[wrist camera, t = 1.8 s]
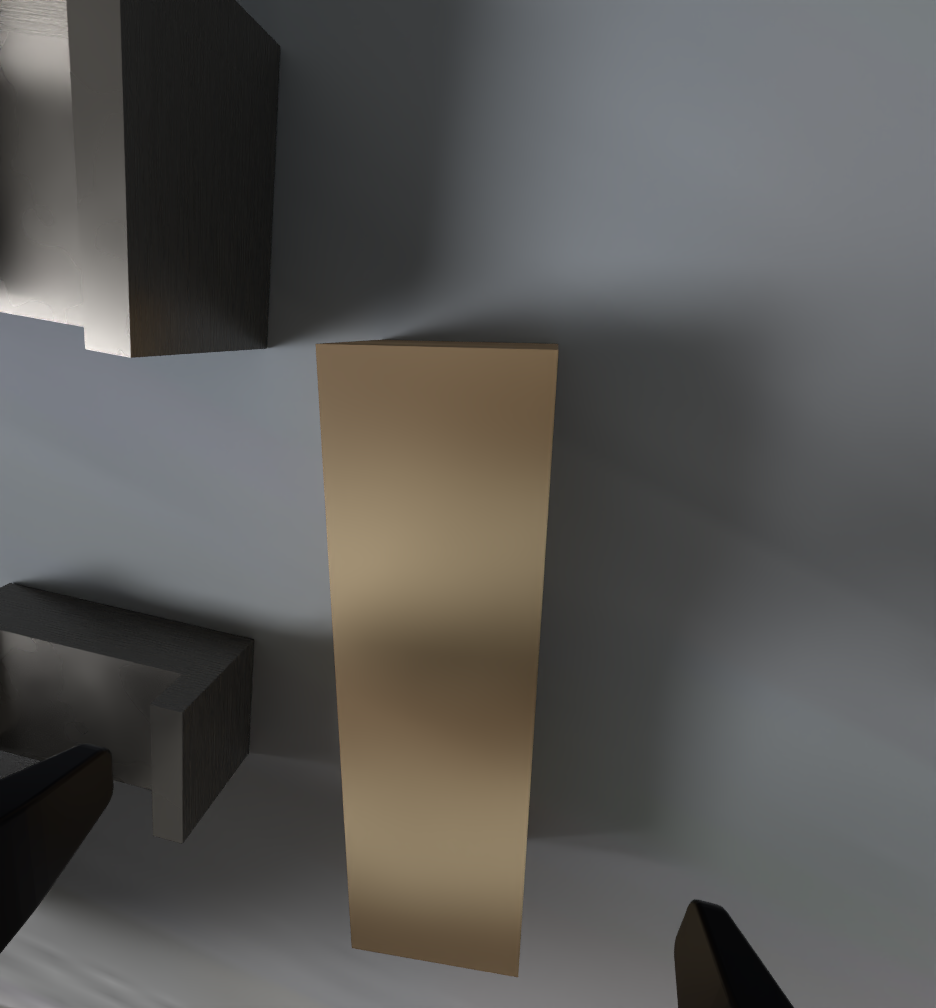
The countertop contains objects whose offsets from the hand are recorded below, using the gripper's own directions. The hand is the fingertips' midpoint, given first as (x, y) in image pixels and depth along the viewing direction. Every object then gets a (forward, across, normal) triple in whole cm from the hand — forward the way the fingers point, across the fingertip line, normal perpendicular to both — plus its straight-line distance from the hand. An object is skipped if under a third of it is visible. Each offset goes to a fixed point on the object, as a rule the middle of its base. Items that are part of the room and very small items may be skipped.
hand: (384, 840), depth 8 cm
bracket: (+7, +9, -9) cm, 14 cm away
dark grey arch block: (+7, +9, +4) cm, 12 cm away
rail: (+7, 0, 0) cm, 7 cm away
